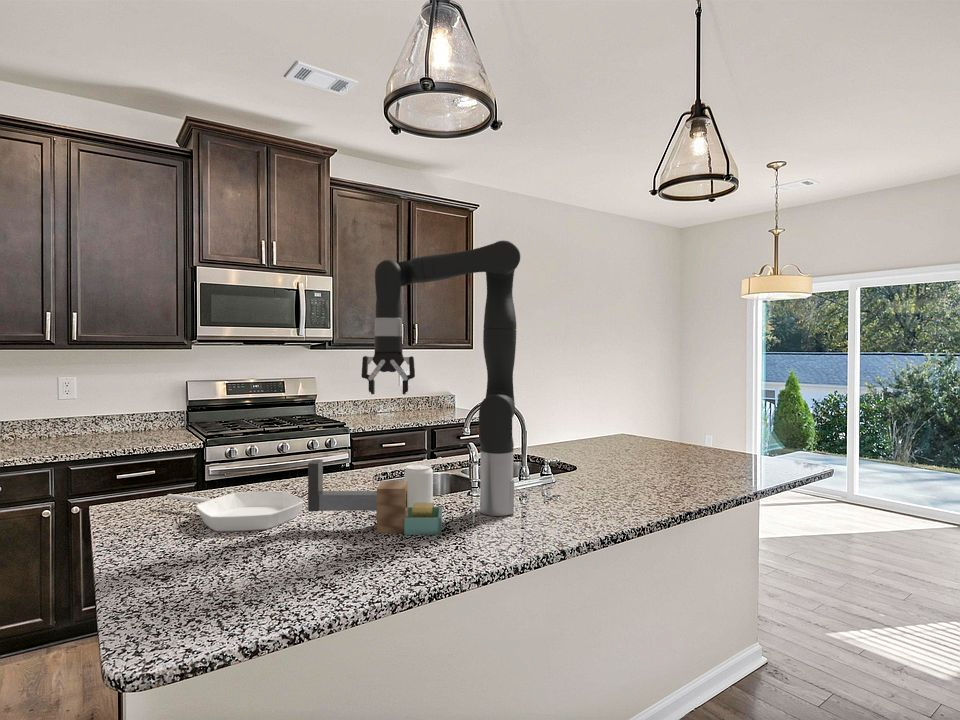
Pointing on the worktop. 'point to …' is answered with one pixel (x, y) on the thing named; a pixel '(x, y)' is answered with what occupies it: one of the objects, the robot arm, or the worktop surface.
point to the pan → (246, 510)
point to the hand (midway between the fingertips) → (388, 394)
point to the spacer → (423, 510)
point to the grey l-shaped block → (335, 494)
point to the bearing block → (392, 506)
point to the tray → (424, 523)
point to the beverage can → (419, 483)
